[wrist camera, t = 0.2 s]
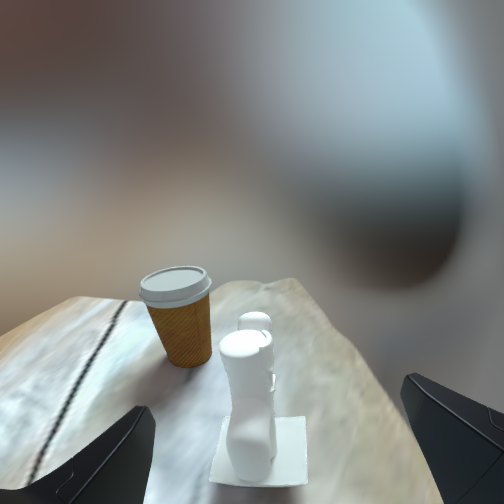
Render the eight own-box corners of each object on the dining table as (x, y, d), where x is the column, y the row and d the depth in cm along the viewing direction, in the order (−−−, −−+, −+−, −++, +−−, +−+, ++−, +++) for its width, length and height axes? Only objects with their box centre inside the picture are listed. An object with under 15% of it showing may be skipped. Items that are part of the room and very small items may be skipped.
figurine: (214, 507, 15) (154, 393, 11) (231, 430, 24) (203, 302, 20) (305, 510, 14) (320, 398, 10) (303, 429, 23) (305, 298, 19)
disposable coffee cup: (157, 343, 41) (139, 272, 37) (215, 331, 43) (203, 260, 40) (160, 380, 32) (133, 298, 29) (230, 366, 35) (216, 283, 31)
